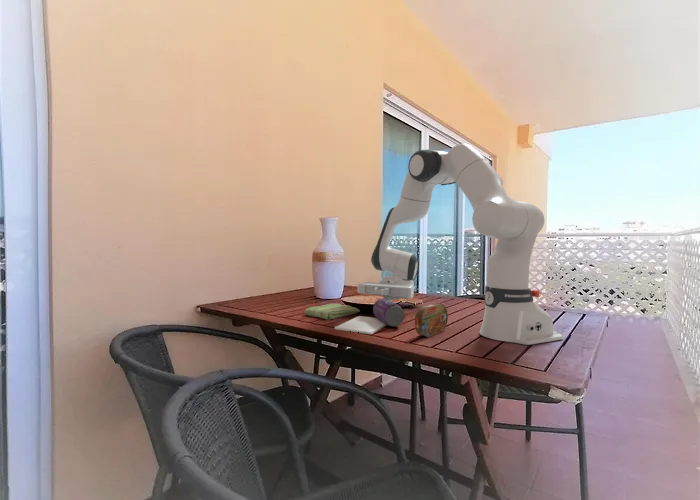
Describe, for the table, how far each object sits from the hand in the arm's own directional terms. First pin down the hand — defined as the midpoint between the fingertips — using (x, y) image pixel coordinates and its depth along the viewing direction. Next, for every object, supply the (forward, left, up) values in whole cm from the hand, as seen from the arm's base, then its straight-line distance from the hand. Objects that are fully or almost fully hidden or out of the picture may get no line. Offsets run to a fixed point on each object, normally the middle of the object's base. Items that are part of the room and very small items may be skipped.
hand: (377, 292), depth 128 cm
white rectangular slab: (+7, +8, -9) cm, 14 cm away
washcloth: (+14, -10, -10) cm, 20 cm away
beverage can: (-1, +2, -5) cm, 5 cm away
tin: (-9, +21, -9) cm, 25 cm away
